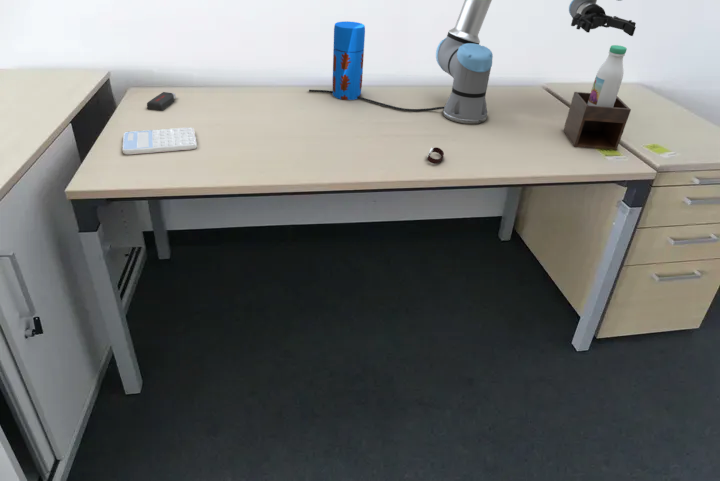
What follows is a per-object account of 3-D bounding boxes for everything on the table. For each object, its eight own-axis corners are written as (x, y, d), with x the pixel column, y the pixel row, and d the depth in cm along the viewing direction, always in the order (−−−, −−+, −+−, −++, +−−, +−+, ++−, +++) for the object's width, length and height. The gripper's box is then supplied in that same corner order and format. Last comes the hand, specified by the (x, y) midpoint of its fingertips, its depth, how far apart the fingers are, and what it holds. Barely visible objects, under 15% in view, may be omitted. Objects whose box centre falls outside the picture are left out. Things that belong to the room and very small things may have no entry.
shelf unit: (574, 146, 170) (586, 106, 163) (563, 130, 182) (574, 91, 174) (616, 150, 170) (631, 109, 162) (603, 133, 181) (616, 94, 174)
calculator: (197, 149, 153) (196, 143, 152) (122, 155, 147) (121, 149, 146) (194, 131, 164) (193, 125, 162) (124, 136, 158) (123, 130, 157)
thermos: (357, 101, 194) (361, 29, 180) (329, 98, 195) (331, 26, 181) (363, 92, 203) (367, 23, 188) (336, 88, 204) (338, 20, 190)
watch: (430, 153, 160) (432, 142, 158) (445, 156, 159) (447, 145, 157) (423, 163, 154) (424, 151, 152) (439, 166, 153) (440, 155, 151)
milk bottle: (611, 109, 172) (633, 46, 161) (610, 117, 166) (632, 51, 155) (587, 105, 174) (606, 42, 163) (584, 112, 168) (604, 47, 157)
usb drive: (147, 109, 176) (146, 101, 175) (164, 97, 186) (163, 89, 185) (162, 111, 176) (160, 103, 174) (178, 99, 186) (177, 91, 184)
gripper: (623, 29, 185) (646, 45, 167) (551, 24, 185) (567, 38, 168) (630, 6, 181) (655, 20, 163) (557, 1, 181) (574, 13, 163)
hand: (611, 29), depth 165 cm, fingers open, 13 cm apart
